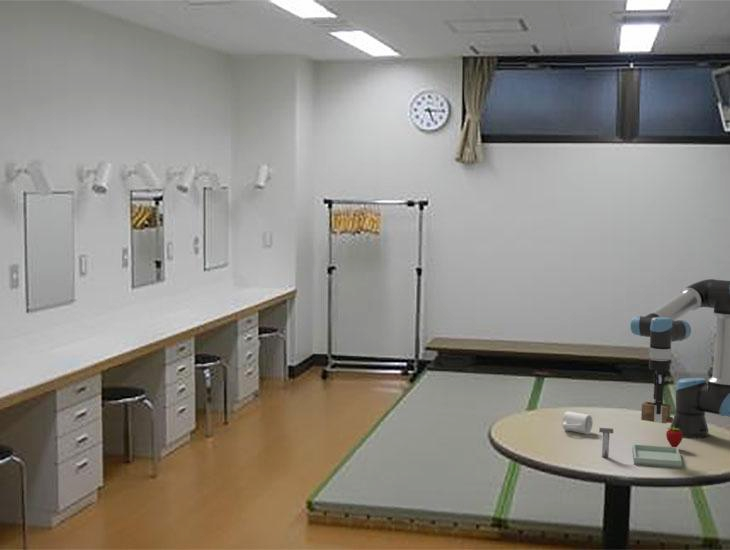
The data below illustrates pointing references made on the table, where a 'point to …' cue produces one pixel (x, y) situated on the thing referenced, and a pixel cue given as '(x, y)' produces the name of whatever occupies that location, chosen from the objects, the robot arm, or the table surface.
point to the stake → (605, 441)
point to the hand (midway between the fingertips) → (657, 419)
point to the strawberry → (674, 436)
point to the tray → (656, 456)
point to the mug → (577, 422)
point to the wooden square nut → (649, 412)
